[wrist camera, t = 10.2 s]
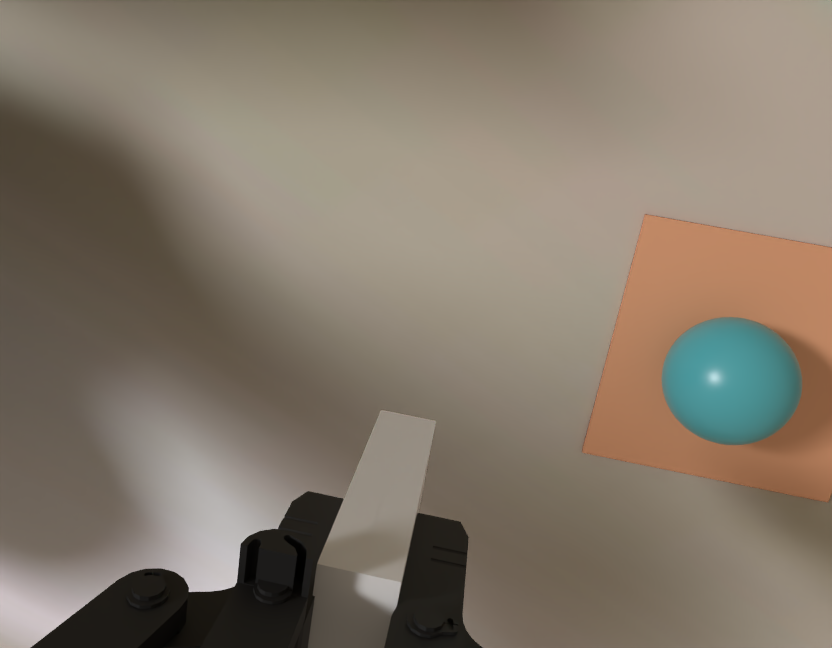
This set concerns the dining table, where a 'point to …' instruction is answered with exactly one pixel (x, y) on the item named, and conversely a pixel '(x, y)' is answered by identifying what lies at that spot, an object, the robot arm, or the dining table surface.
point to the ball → (731, 381)
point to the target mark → (700, 301)
